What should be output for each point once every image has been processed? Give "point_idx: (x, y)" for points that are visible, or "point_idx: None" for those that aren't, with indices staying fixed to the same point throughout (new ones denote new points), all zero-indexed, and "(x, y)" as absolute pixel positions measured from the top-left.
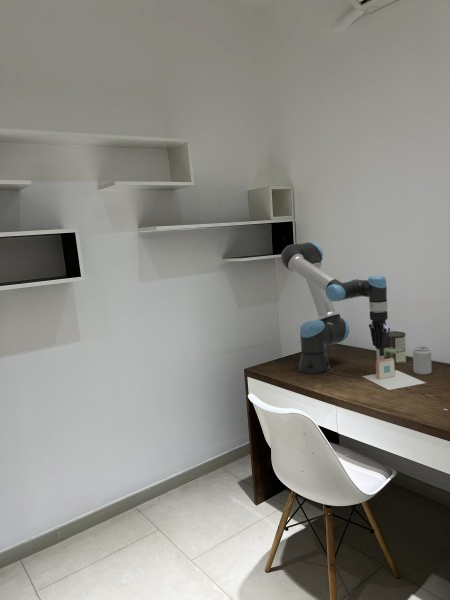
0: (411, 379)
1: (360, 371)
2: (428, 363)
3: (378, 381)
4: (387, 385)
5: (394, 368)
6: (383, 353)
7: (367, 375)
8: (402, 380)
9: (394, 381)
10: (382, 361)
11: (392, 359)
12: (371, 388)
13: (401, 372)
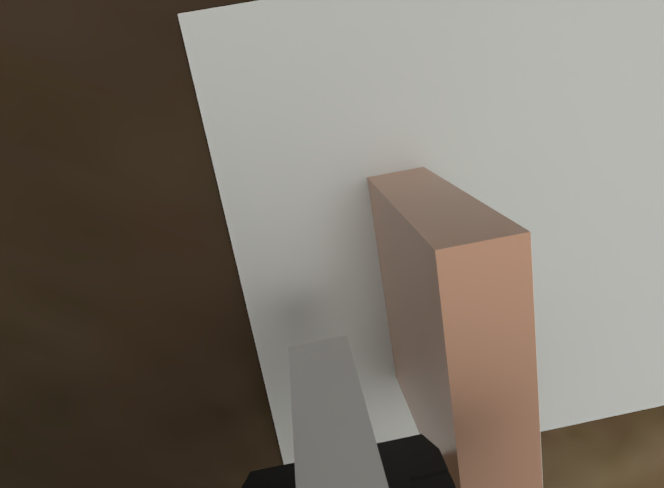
0: (609, 25)
1: (59, 435)
2: None
3: None
4: (647, 357)
5: (459, 190)
6: (447, 482)
7: (276, 432)
8: (589, 148)
9: (577, 246)
10: (539, 463)
11: (529, 272)
12: (601, 484)
13: (300, 1)
